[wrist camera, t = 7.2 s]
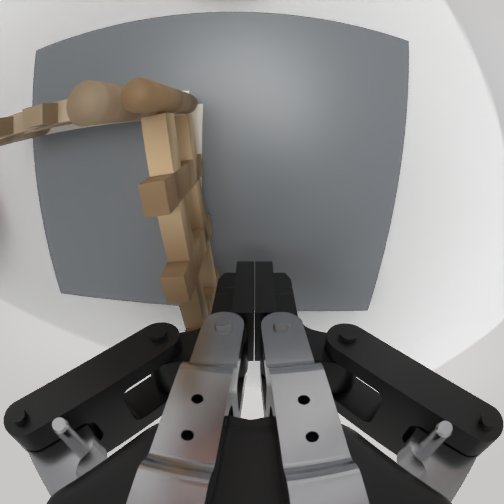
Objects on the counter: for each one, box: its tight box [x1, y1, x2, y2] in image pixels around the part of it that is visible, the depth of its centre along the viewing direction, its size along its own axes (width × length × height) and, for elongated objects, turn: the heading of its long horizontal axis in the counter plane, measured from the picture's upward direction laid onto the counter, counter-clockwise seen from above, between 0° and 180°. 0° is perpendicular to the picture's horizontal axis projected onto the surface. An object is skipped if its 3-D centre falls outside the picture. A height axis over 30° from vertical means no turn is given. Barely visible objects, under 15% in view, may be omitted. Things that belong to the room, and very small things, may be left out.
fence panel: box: [121, 78, 220, 332], centre depth 11 cm, size 11×1×6 cm, turn 5°
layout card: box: [33, 12, 409, 311], centre depth 14 cm, size 21×16×1 cm
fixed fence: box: [0, 80, 163, 146], centre depth 9 cm, size 9×1×7 cm, turn 87°
